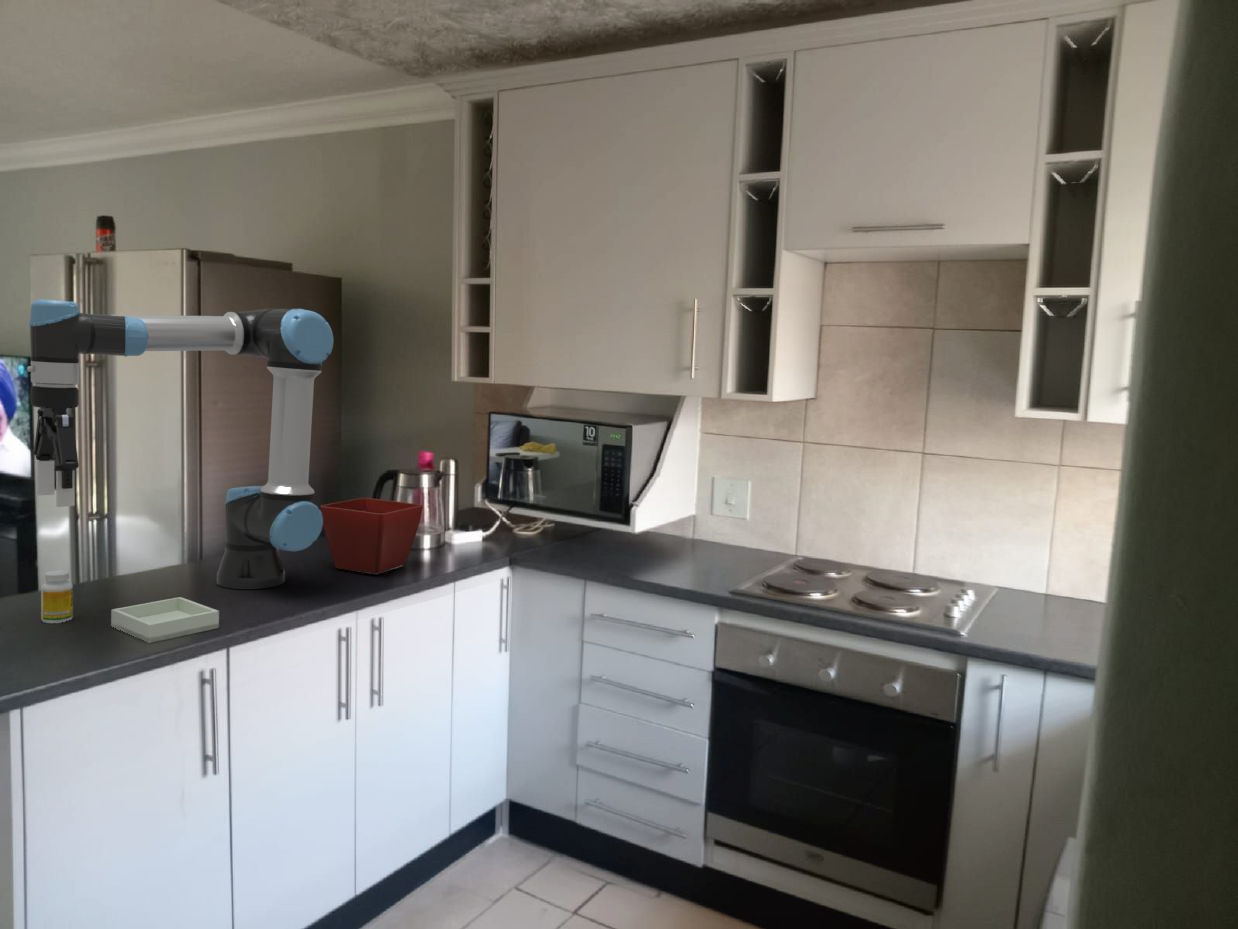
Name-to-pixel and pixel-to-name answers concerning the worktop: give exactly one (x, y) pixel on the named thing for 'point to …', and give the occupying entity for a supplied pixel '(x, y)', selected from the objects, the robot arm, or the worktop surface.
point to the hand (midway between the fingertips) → (55, 500)
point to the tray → (164, 619)
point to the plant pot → (370, 533)
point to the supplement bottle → (56, 598)
